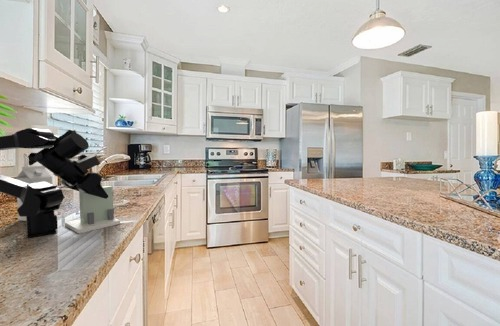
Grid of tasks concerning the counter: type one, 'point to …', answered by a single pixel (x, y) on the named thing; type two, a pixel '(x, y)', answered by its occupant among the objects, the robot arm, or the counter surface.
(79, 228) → the cabinet base
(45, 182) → the robot arm
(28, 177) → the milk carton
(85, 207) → the grey upright panel
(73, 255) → the counter surface
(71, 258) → the counter surface
